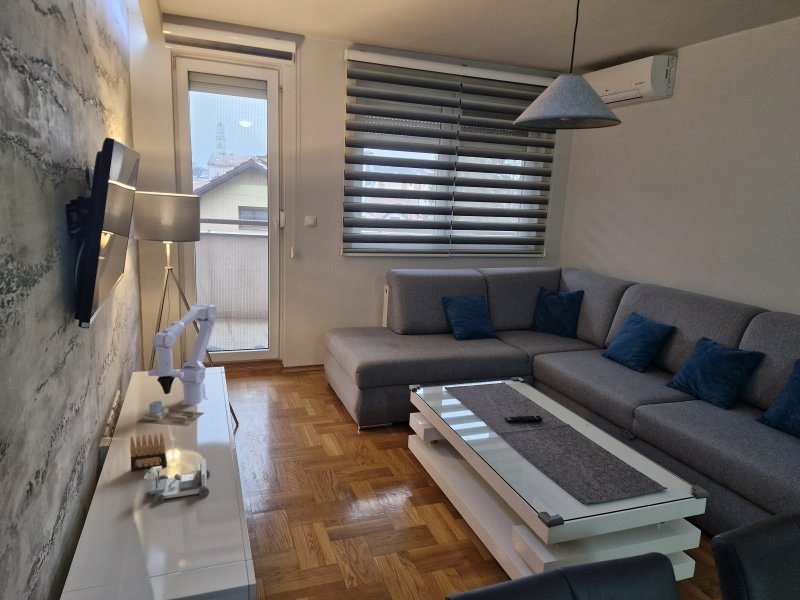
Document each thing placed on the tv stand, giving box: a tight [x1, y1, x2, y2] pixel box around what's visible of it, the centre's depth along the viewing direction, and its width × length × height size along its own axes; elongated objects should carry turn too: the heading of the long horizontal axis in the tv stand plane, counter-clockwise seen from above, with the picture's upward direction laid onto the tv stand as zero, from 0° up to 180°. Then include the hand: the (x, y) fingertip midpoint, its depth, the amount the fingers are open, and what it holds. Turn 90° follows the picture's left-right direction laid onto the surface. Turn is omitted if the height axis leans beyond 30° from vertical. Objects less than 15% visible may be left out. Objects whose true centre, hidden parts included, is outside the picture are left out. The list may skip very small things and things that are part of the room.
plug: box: [148, 400, 163, 414], centre depth 209 cm, size 4×3×6 cm
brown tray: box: [135, 407, 205, 427], centre depth 209 cm, size 13×22×3 cm, turn 83°
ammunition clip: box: [129, 432, 168, 472], centre depth 170 cm, size 11×2×12 cm, turn 108°
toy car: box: [143, 458, 211, 504], centre depth 158 cm, size 18×10×12 cm
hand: (167, 393), depth 211 cm, fingers closed
